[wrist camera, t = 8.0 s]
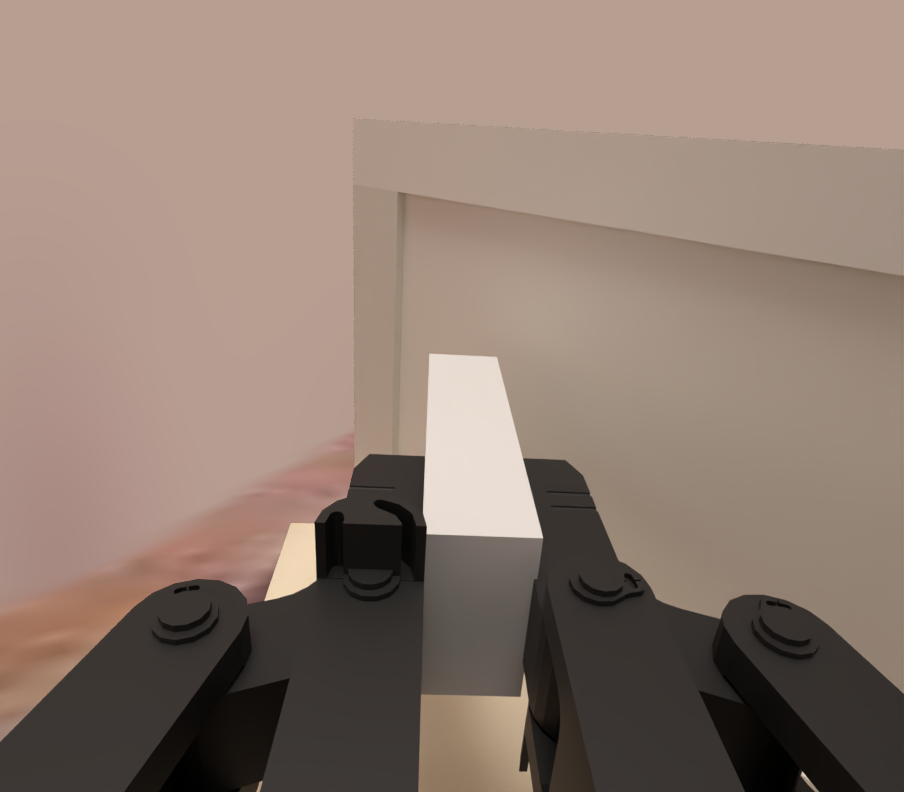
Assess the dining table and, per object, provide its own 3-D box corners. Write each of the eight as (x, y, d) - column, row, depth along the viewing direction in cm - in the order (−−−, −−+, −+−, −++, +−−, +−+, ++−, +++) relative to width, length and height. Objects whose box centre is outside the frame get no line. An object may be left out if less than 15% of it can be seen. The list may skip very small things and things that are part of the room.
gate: (1013, 876, 11) (1499, 186, 6) (1003, 972, 10) (1607, 189, 5) (400, 490, 22) (411, 122, 17) (355, 511, 20) (352, 118, 16)
